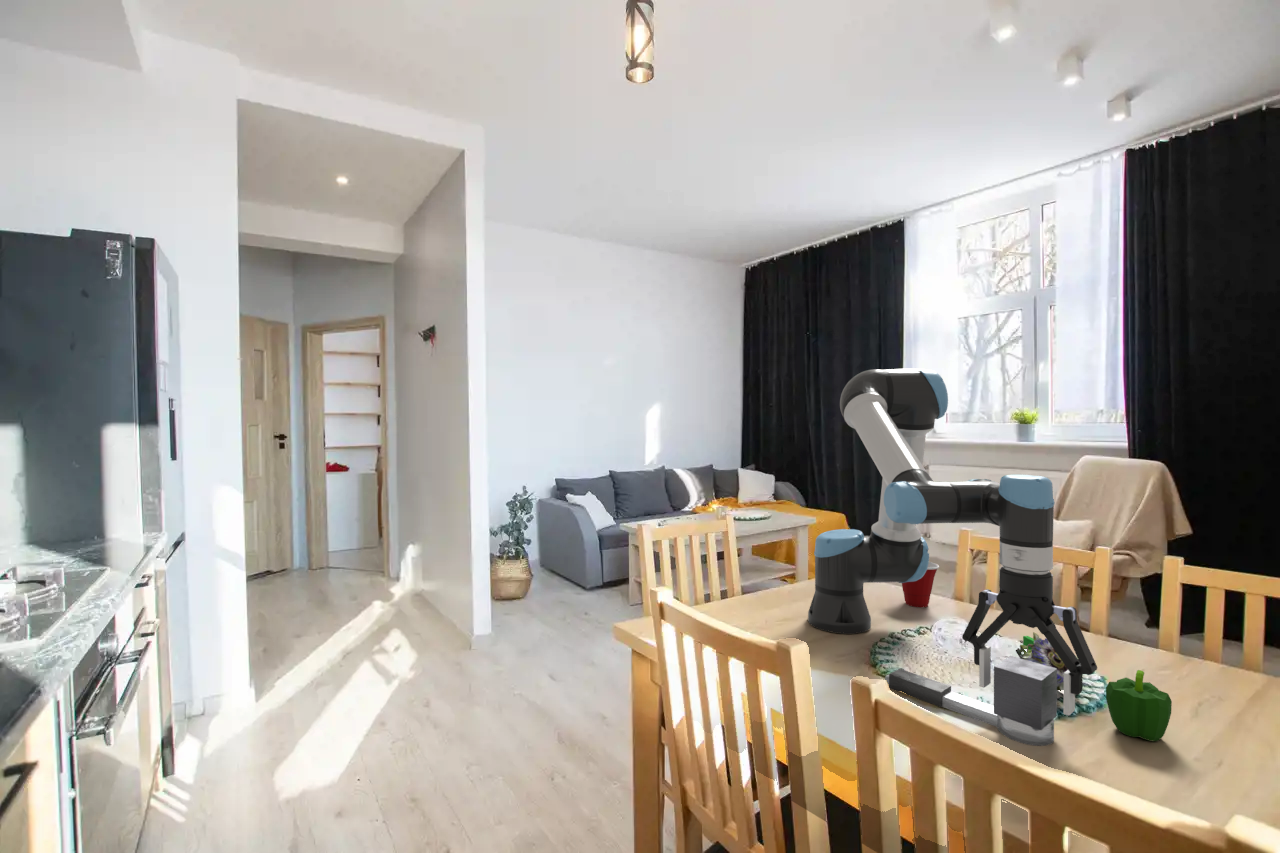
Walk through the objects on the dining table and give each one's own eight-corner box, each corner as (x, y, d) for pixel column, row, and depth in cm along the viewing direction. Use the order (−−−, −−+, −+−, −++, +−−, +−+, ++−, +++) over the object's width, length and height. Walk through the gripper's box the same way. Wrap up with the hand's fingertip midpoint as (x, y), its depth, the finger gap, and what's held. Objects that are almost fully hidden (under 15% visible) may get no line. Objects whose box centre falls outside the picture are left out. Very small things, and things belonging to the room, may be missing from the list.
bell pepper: (1153, 752, 96) (1153, 689, 95) (1096, 727, 103) (1096, 669, 103) (1183, 740, 99) (1183, 679, 99) (1125, 717, 107) (1126, 660, 106)
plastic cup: (946, 610, 164) (946, 566, 164) (906, 610, 164) (906, 566, 164) (928, 598, 175) (928, 556, 174) (890, 598, 175) (890, 556, 175)
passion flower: (1061, 721, 116) (1051, 682, 111) (1005, 688, 125) (994, 651, 120) (1095, 680, 119) (1087, 641, 114) (1037, 651, 128) (1028, 613, 123)
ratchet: (878, 689, 118) (878, 653, 118) (900, 678, 123) (900, 643, 123) (1043, 751, 96) (1043, 707, 96) (1061, 734, 101) (1061, 692, 101)
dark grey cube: (993, 713, 102) (993, 666, 102) (1010, 701, 107) (1010, 655, 107) (1041, 730, 97) (1041, 680, 97) (1056, 716, 101) (1057, 668, 101)
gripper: (941, 559, 108) (941, 679, 109) (1107, 589, 89) (1106, 734, 90) (960, 552, 113) (960, 668, 113) (1122, 579, 94) (1121, 718, 95)
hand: (1025, 698), depth 102 cm, fingers open, 12 cm apart
